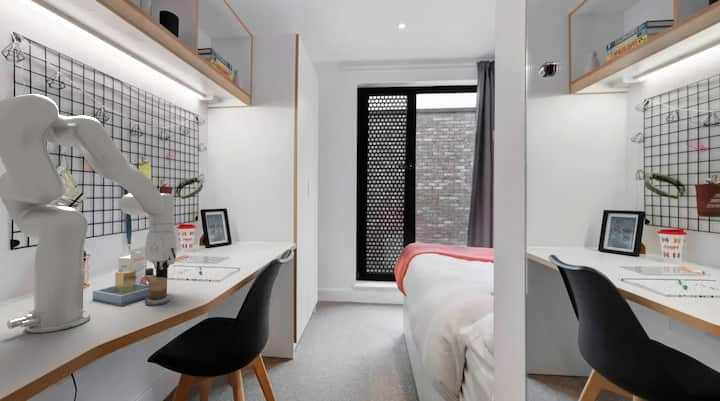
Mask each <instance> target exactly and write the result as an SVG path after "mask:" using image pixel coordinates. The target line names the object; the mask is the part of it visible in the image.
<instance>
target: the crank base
mask: <svg viewBox="0 0 720 401" xmlns="http://www.w3.org/2000/svg"><path fill="white" fill-rule="evenodd" d="M170 302H171V295H170V294H168V293H167V296H166V297H164V298H160V299H149V297H147V298H145V299H144V305H145V306H149V307H155V306H162V305H165V304H167V303H170Z"/></svg>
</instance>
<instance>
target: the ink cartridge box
mask: <svg viewBox="0 0 720 401" xmlns="http://www.w3.org/2000/svg"><path fill="white" fill-rule="evenodd" d="M145 248H146V246H142V247H136V248H132V249H130V250H129V254H128V255H125V256H121V257H118V264H117V265H118V267H117V268H118V269H117V270H118V271H117V272H120V271H125V270H131V271H136V283H137V284H143V285H146V284H147V281H146V280H145V269H147V266H148V265H147V262H148V260H147V259H146V258H145ZM138 251H140V252H138Z"/></svg>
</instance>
